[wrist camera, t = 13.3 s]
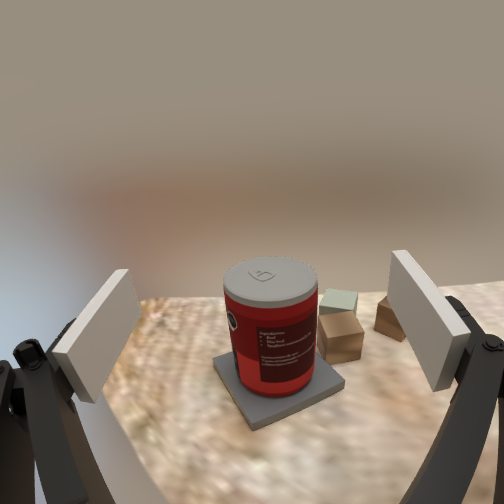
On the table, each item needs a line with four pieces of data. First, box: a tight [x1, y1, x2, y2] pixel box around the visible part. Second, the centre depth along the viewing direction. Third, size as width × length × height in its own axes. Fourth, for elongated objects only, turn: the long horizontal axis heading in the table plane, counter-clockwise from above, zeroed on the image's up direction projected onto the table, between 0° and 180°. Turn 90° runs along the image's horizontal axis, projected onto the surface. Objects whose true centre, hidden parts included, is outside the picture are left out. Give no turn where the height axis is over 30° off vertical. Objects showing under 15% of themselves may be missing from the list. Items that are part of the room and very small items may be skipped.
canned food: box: [224, 256, 318, 397], centre depth 29 cm, size 8×8×11 cm
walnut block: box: [374, 296, 406, 342], centre depth 36 cm, size 4×4×4 cm
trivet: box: [212, 351, 345, 431], centre depth 31 cm, size 10×10×1 cm
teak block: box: [317, 311, 364, 365], centre depth 34 cm, size 4×4×4 cm
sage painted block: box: [319, 288, 358, 316], centre depth 38 cm, size 4×4×4 cm
